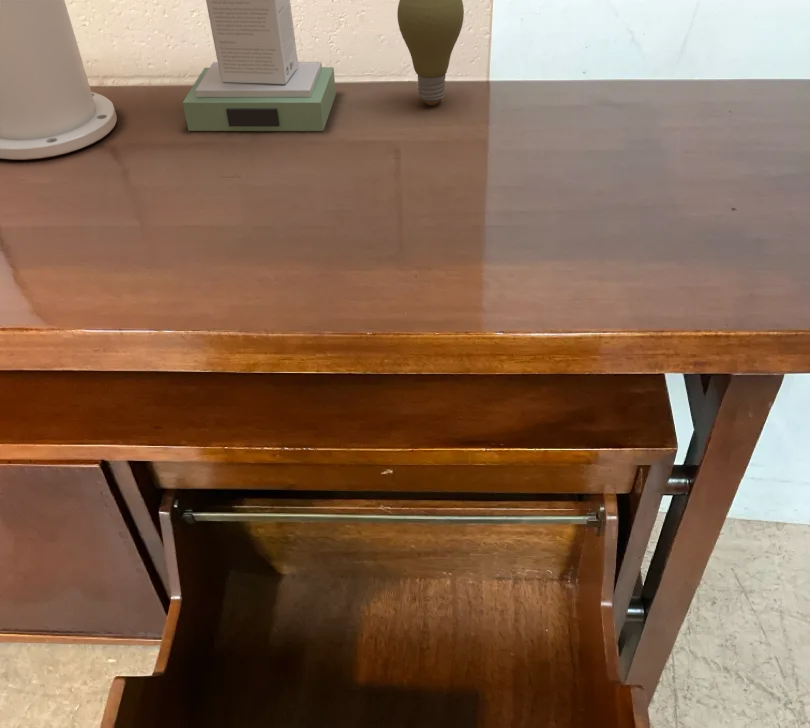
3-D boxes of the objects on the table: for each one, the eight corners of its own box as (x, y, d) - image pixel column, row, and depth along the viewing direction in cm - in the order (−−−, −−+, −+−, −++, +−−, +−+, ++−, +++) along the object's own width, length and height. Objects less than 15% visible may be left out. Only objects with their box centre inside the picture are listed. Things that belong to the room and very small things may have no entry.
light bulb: (399, 116, 74) (394, -15, 67) (402, 91, 78) (397, -35, 70) (462, 115, 74) (464, -16, 66) (462, 90, 78) (464, -37, 70)
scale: (187, 132, 73) (179, 96, 71) (209, 95, 79) (203, 60, 77) (323, 132, 72) (319, 95, 70) (336, 94, 78) (333, 59, 76)
